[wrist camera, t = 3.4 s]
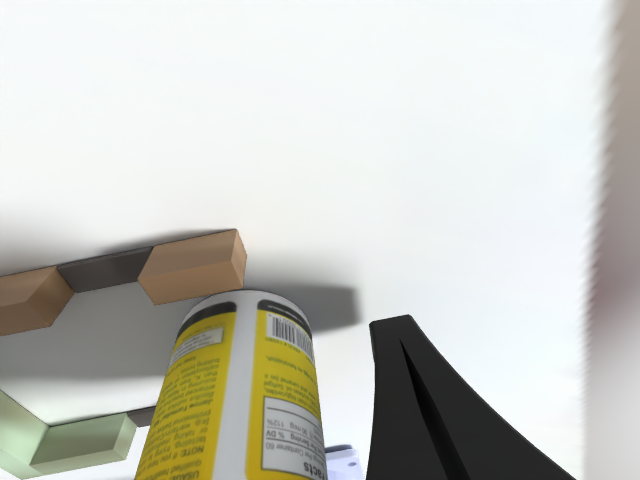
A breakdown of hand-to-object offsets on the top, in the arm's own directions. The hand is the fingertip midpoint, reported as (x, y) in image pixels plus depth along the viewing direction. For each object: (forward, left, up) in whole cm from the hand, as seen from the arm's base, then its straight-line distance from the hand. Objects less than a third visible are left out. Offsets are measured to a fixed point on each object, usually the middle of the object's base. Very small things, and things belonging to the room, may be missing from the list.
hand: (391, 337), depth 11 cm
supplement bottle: (0, +5, -2) cm, 5 cm away
